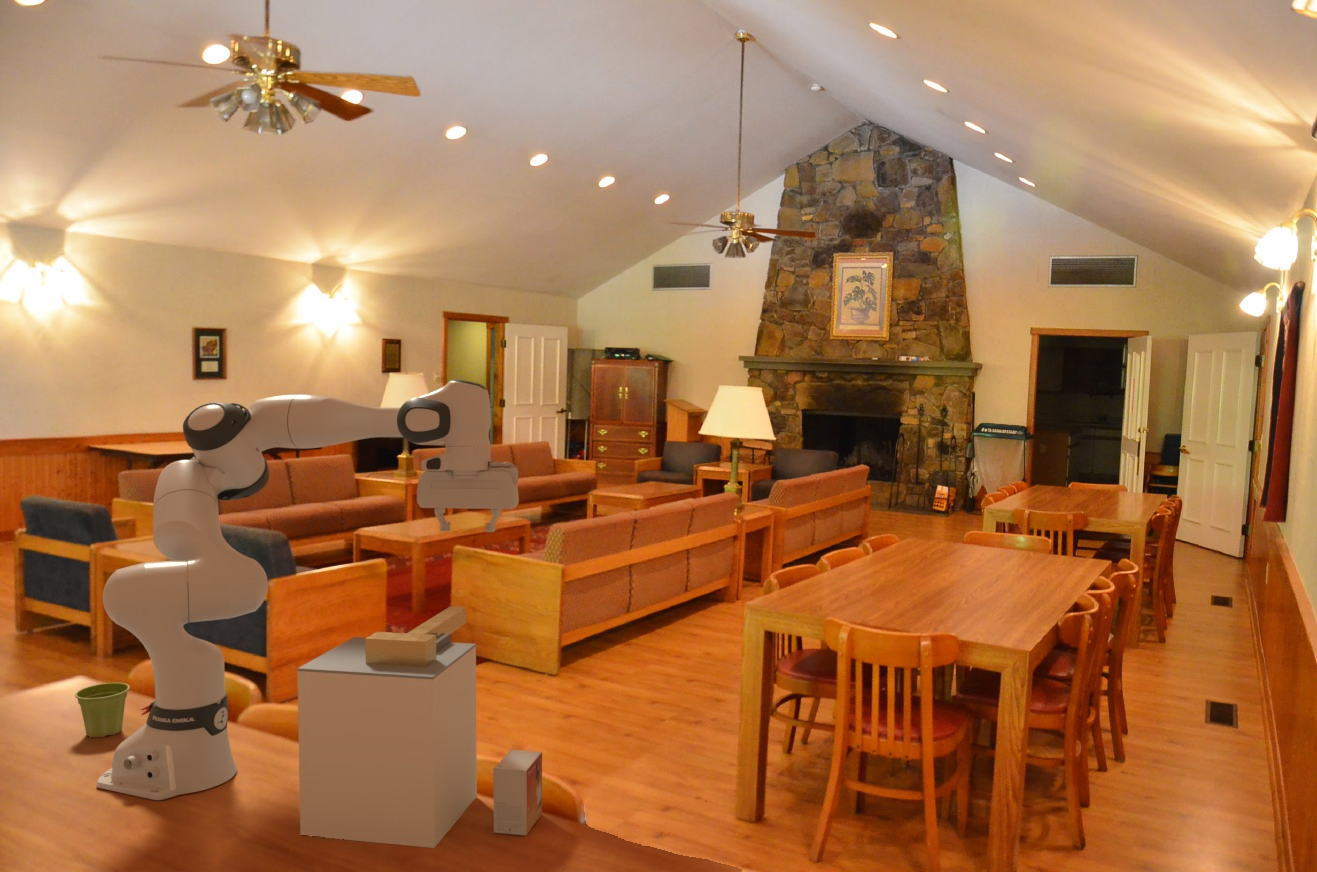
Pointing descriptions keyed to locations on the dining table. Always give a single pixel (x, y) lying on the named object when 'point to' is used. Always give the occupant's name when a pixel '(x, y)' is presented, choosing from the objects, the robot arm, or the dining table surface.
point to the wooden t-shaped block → (413, 641)
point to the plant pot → (103, 708)
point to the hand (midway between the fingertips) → (467, 531)
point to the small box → (517, 792)
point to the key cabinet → (387, 745)
